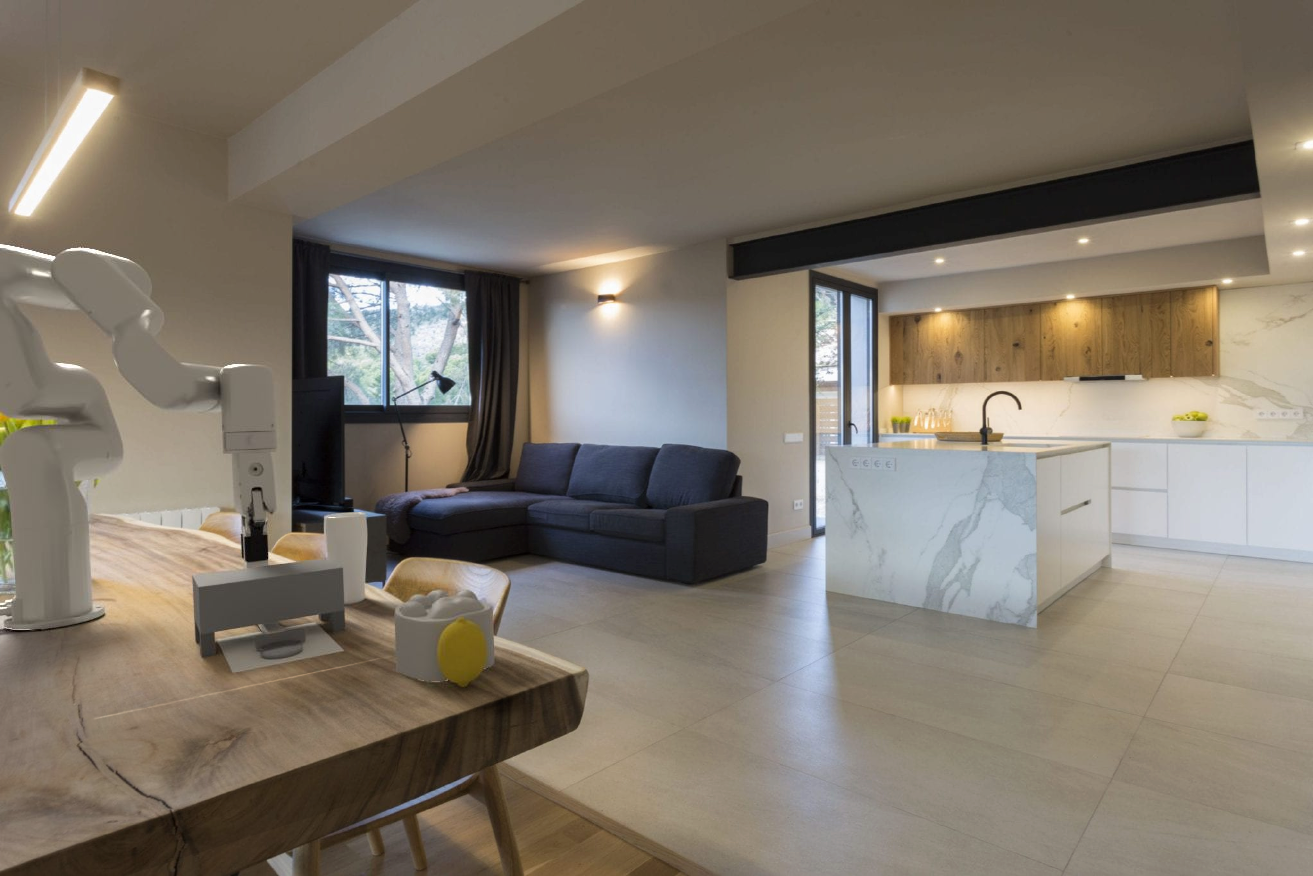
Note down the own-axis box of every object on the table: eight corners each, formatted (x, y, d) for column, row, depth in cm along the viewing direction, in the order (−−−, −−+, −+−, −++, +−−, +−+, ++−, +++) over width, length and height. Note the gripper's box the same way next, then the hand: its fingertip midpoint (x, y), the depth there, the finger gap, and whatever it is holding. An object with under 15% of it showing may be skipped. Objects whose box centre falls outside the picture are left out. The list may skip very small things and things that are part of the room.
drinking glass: (326, 600, 127) (323, 514, 127) (368, 595, 130) (365, 511, 130) (327, 608, 121) (323, 518, 121) (371, 603, 124) (367, 515, 124)
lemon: (492, 677, 87) (490, 610, 86) (482, 695, 81) (480, 623, 81) (445, 679, 86) (442, 612, 86) (432, 697, 81) (429, 625, 81)
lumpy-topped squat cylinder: (431, 687, 84) (428, 612, 84) (377, 663, 93) (374, 596, 93) (505, 663, 92) (503, 594, 92) (449, 643, 101) (447, 580, 100)
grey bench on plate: (201, 658, 97) (198, 587, 96) (195, 641, 105) (192, 575, 105) (345, 631, 107) (342, 567, 107) (329, 617, 115) (327, 557, 115)
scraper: (256, 650, 98) (252, 544, 97) (235, 615, 116) (231, 526, 116) (305, 641, 101) (301, 539, 101) (277, 609, 120) (273, 522, 119)
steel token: (262, 662, 94) (262, 654, 94) (258, 652, 98) (258, 645, 98) (305, 654, 97) (305, 646, 97) (299, 645, 101) (299, 637, 101)
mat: (232, 674, 90) (232, 672, 90) (217, 640, 105) (216, 639, 105) (344, 652, 98) (344, 650, 98) (315, 623, 112) (315, 622, 112)
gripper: (286, 443, 111) (290, 563, 112) (268, 441, 124) (272, 549, 125) (229, 445, 107) (234, 570, 107) (217, 443, 120) (221, 555, 120)
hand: (255, 558), depth 116 cm, fingers closed on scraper, 3 cm apart
